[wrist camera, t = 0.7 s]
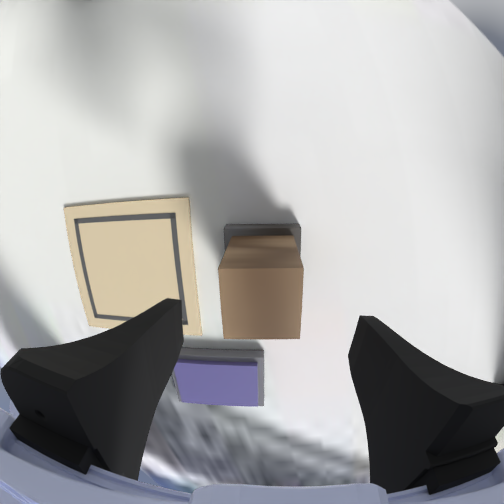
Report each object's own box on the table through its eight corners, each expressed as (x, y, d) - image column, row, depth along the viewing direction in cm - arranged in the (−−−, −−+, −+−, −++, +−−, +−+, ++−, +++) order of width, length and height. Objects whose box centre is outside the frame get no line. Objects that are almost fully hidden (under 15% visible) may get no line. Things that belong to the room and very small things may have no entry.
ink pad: (181, 394, 26) (177, 404, 24) (170, 346, 24) (165, 357, 23) (263, 398, 25) (263, 409, 24) (263, 350, 24) (263, 361, 22)
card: (90, 324, 24) (89, 326, 24) (65, 207, 20) (63, 207, 20) (202, 334, 23) (201, 335, 23) (189, 197, 20) (188, 197, 20)
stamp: (229, 290, 22) (215, 345, 15) (226, 224, 20) (207, 258, 14) (297, 290, 22) (308, 346, 15) (299, 223, 20) (314, 257, 14)
